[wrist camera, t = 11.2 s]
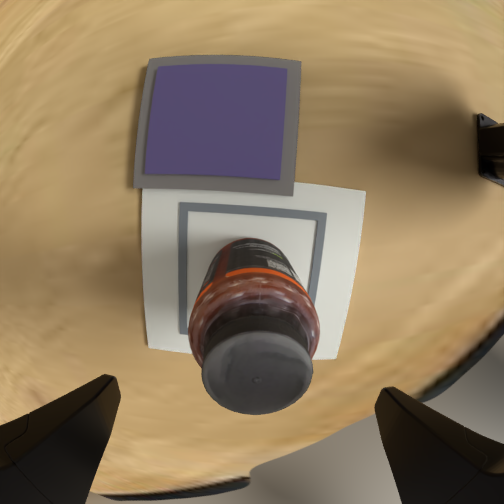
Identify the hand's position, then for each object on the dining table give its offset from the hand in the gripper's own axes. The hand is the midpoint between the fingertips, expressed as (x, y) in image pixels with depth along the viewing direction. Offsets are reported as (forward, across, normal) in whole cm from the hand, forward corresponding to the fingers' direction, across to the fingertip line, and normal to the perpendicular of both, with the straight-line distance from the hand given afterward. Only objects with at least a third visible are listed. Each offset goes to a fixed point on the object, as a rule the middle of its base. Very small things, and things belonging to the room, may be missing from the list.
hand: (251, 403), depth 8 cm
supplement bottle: (+13, 0, 0) cm, 13 cm away
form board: (+13, 0, 0) cm, 13 cm away
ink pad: (+13, +3, -11) cm, 17 cm away
